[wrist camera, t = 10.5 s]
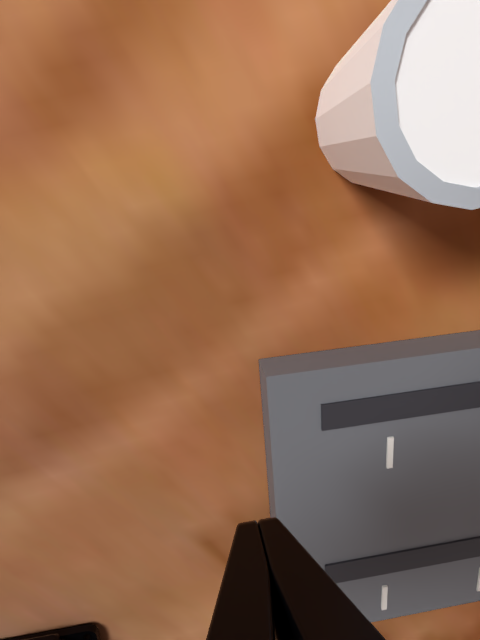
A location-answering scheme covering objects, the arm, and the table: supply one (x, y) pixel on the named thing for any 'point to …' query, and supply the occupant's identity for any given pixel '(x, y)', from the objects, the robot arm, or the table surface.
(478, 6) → the white cup
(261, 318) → the table surface
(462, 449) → the console
